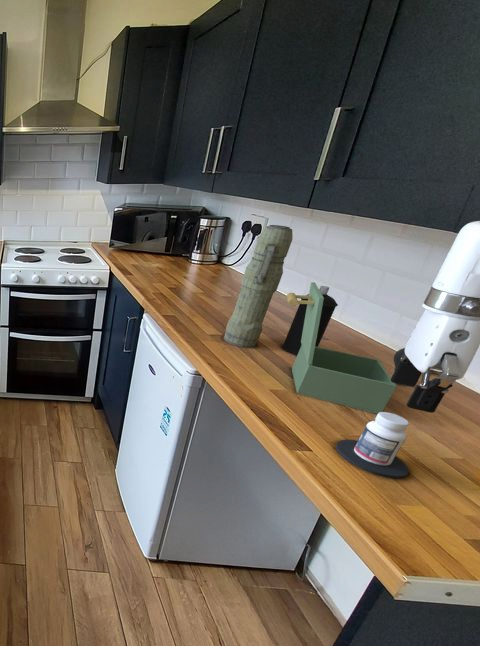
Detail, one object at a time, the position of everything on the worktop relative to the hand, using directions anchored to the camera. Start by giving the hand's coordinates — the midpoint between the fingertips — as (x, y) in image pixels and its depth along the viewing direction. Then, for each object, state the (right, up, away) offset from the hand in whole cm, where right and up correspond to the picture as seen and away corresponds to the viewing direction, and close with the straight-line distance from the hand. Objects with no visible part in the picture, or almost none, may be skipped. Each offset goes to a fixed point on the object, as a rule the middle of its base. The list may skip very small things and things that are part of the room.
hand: (410, 396), depth 70 cm
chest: (+13, -3, +29) cm, 32 cm away
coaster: (-1, -13, +6) cm, 14 cm away
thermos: (+7, +9, +55) cm, 56 cm away
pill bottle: (-1, -13, +6) cm, 14 cm away
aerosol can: (+21, +6, +50) cm, 54 cm away
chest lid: (+6, +14, +27) cm, 31 cm away
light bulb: (+34, -2, +34) cm, 48 cm away
